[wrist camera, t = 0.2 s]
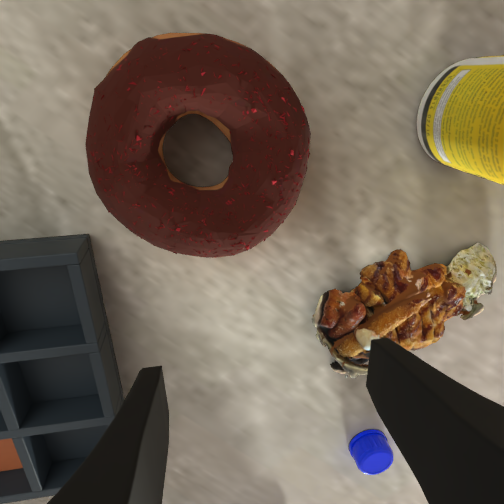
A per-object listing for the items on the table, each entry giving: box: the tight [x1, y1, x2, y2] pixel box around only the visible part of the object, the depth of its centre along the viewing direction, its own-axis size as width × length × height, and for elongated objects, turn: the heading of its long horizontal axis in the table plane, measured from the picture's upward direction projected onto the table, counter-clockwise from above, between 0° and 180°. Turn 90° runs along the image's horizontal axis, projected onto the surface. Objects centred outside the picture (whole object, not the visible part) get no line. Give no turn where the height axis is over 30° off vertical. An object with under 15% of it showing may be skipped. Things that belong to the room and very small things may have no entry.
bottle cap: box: [349, 429, 393, 475], centre depth 29 cm, size 3×3×2 cm
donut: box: [86, 33, 311, 257], centre depth 18 cm, size 10×10×4 cm
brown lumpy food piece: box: [312, 242, 496, 378], centre depth 23 cm, size 7×12×4 cm, turn 115°
